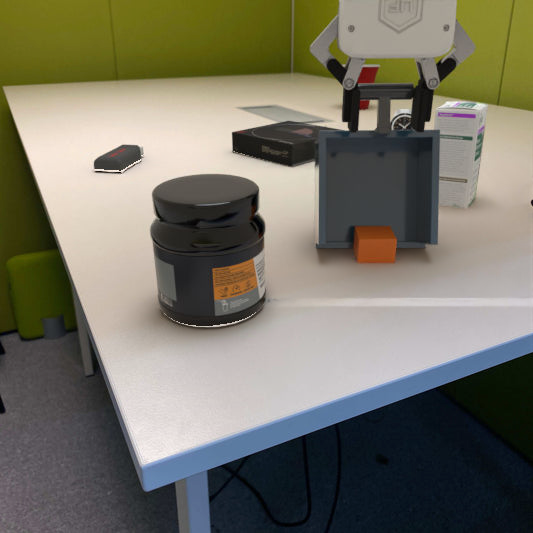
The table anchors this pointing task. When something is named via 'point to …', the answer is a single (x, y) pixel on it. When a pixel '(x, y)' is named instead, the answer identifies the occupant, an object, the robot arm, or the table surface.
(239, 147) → the black flat cardboard box
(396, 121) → the watch
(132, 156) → the usb drive
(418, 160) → the blue open box
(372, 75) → the plastic cup
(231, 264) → the supplement container
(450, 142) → the syrup box
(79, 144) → the table surface
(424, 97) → the robot arm
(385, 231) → the block
